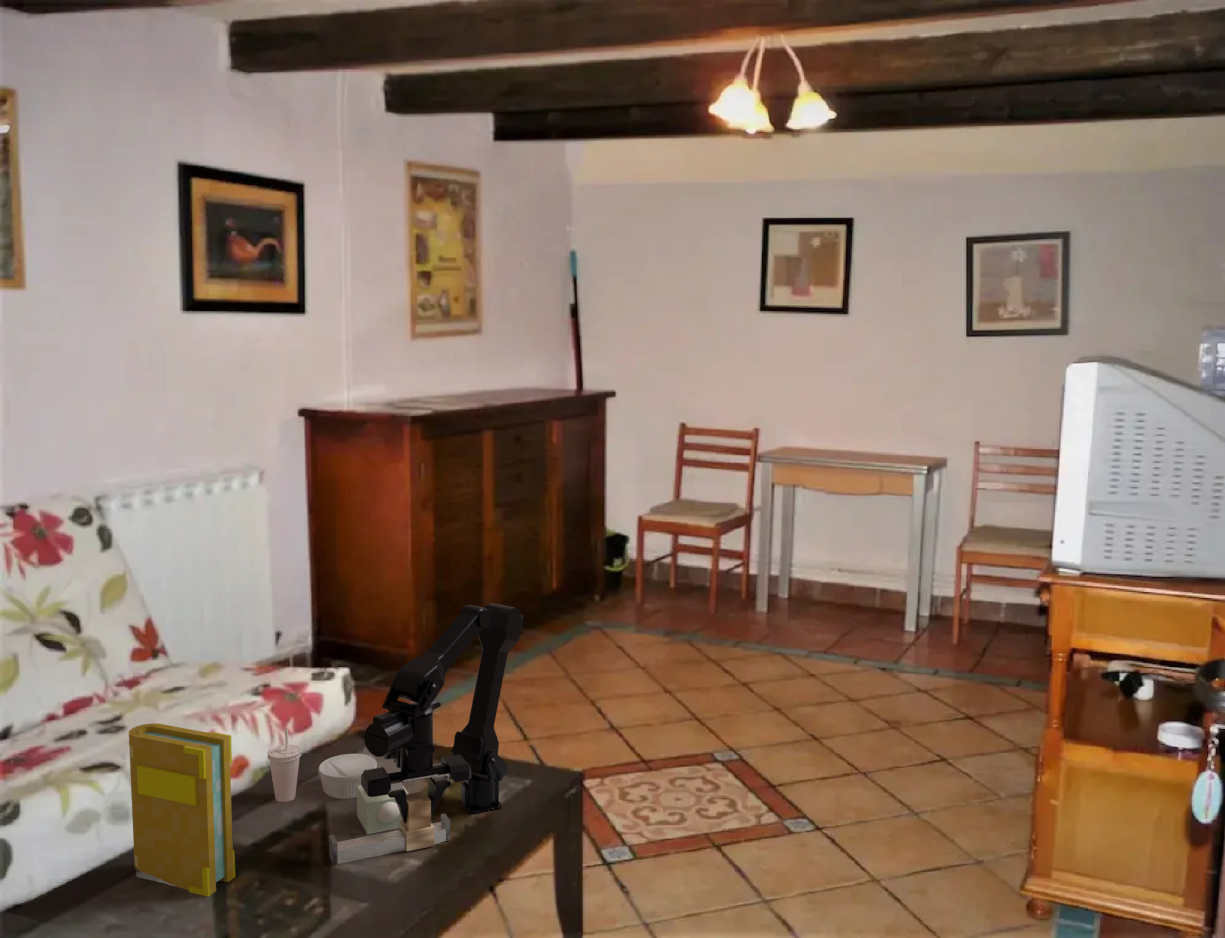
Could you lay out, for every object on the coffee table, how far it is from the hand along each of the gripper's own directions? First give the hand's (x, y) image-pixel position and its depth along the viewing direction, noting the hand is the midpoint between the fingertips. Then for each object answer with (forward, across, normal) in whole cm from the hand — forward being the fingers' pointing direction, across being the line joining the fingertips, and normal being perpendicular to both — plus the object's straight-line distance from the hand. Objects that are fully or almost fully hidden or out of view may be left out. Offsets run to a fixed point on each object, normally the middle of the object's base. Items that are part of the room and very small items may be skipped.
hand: (416, 819), depth 192 cm
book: (+5, +39, -5) cm, 40 cm away
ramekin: (+5, +6, -27) cm, 28 cm away
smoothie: (+5, +18, -28) cm, 34 cm away
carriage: (+4, 0, 0) cm, 4 cm away
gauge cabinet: (+4, +3, -11) cm, 12 cm away
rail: (+4, +5, 0) cm, 7 cm away
